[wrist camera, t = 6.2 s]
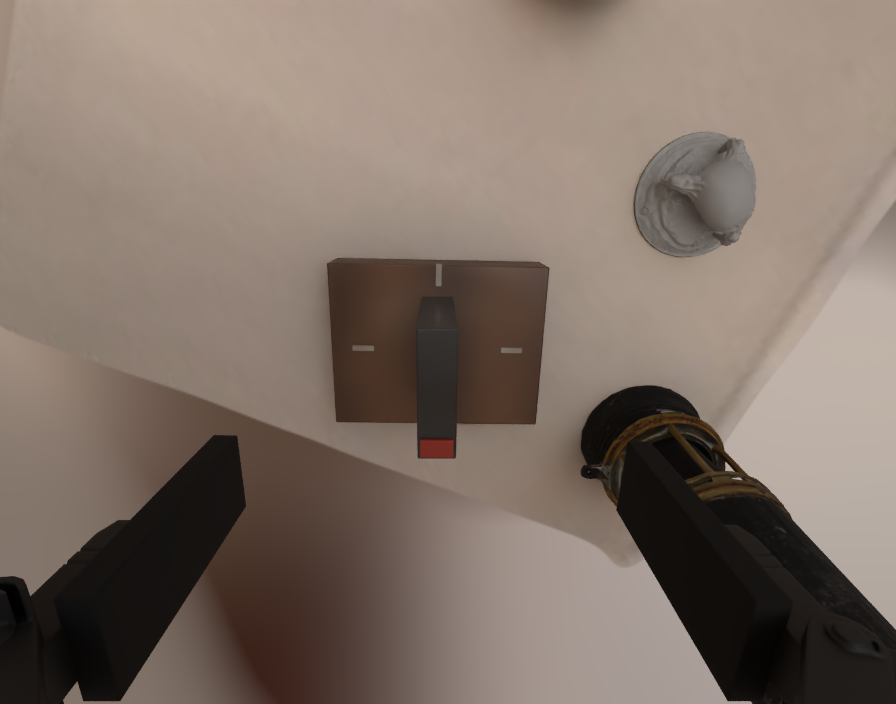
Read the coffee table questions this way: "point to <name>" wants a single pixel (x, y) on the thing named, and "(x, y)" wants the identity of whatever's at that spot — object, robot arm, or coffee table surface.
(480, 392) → the block
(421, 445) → the dark grey block
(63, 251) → the coffee table surface
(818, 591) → the lantern
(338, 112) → the coffee table surface
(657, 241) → the miniature
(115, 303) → the coffee table surface
